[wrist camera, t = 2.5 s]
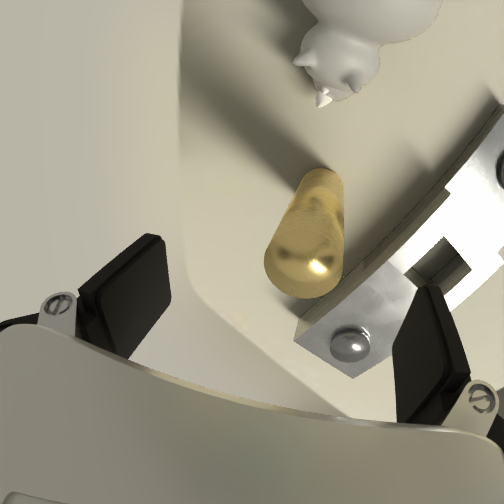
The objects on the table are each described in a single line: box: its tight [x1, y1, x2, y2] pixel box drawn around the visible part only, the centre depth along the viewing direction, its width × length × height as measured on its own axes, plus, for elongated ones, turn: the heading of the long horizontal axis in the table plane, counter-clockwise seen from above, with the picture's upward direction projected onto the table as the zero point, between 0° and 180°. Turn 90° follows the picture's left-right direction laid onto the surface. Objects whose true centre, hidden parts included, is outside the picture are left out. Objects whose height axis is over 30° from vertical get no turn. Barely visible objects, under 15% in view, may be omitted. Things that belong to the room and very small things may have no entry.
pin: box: [264, 168, 344, 299], centre depth 15 cm, size 3×3×10 cm
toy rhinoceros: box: [292, 0, 442, 108], centre depth 10 cm, size 7×12×8 cm, turn 158°
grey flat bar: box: [293, 104, 504, 378], centre depth 17 cm, size 24×7×3 cm, turn 147°
